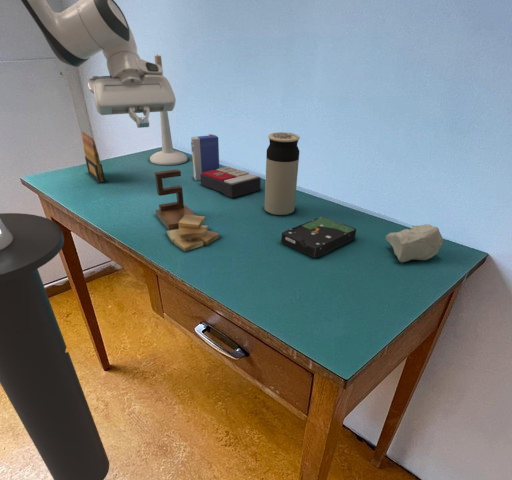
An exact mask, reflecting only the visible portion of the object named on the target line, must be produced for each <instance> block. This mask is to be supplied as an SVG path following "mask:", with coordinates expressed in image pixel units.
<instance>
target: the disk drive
mask: <svg viewBox="0 0 512 480" xmlns="http://www.w3.org/2000/svg"><path fill="white" fill-rule="evenodd" d="M356 234H357V228H355V227H352V226H350V225H348V224H344V223H343V222H340V221H338V222H337V221H336V220H332V219H330V218H327V217H326V216H320V217H317V218H313V219H312V220H309V221H306V222H304V223H301V224H299V225H297V226H295V227H292V228H290V229H286V230H284V231H281V238H280V242H281V243H283V244H284V245H286V246H288V247H290V248H292V249H295V250H296V251H299V252H300V253H303V254H305V255H307V256H309V257H311V258H315V259H316V258H318V257H321V256H323V255H324V254H327V253H329V252H330V251H333V250H335V249H336V248H338V247H341V246H343V245H345V244H347V243H349V242H351V241H353V240H355V239H356Z"/></svg>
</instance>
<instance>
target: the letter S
mask: <svg viewBox="0 0 512 480" xmlns="http://www.w3.org/2000/svg"><path fill="white" fill-rule="evenodd" d="M181 176H182V172H181V170H180V169H170V170H162V171H155V172H154V181H155V188H156V194H157V195H158V196H160V197H162V196H167V195H174V194H176V201H173V202H167V203H166V202H165V203H161V204H158V209H155V215H156V217H157V218H158V220H159V221H160V222H161V223H162V224H163V226H164V227H165V228H166V230H167V231H169V230H176V229H179V225H178V222H179V221H180V220H181V219H182V218H183V217H184V215H195V216H197V215H196V214H195V213H194V212H193V211H192V210H191V208H189V207H188V206H187V205H186V204H185V203H184V193H183V192H184V191H183V187H182V186H181V185H175V186H166V187H164V185H163V183H164V182H163V179H167V178H168V179H170V178H176V177H181Z"/></svg>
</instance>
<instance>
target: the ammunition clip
mask: <svg viewBox="0 0 512 480" xmlns="http://www.w3.org/2000/svg"><path fill="white" fill-rule="evenodd" d="M81 139H82V144H83V152H84V159H85V162H86V167H87V172H88V175H89V176H91V177H92V178H93V179H94V180H95V181H96V182H97V183H98V184H103V183H106V177H105V173H104V169H103V165H102V162H101V159H100V155H99V153H98V150H97V145H96V142H95V140H94V138H93V137H91V136H89V135H88V134H87V133H86V132H84V131H81Z"/></svg>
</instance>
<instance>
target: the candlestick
mask: <svg viewBox="0 0 512 480" xmlns="http://www.w3.org/2000/svg"><path fill="white" fill-rule="evenodd" d="M154 64H158V65H160V66H161V67H162V68H163V63H162V55H158V53H157V54H155V55H154ZM168 112H169V111H163V112H159V118H160V132H161V133H160V135H161V147H162V148H161V150H160V151H157V152H154V153H153V154H152V155H150V157H149V161H150V163H152V164H154V165H159V166H176V165H182V164H184V163H186V162H187V161H188V156H187V155H186V154H185V153H183V152H182V151H178V150H174V146H173V140H172V133H171V132H172V131H171V126H170V119H169V113H168Z"/></svg>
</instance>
